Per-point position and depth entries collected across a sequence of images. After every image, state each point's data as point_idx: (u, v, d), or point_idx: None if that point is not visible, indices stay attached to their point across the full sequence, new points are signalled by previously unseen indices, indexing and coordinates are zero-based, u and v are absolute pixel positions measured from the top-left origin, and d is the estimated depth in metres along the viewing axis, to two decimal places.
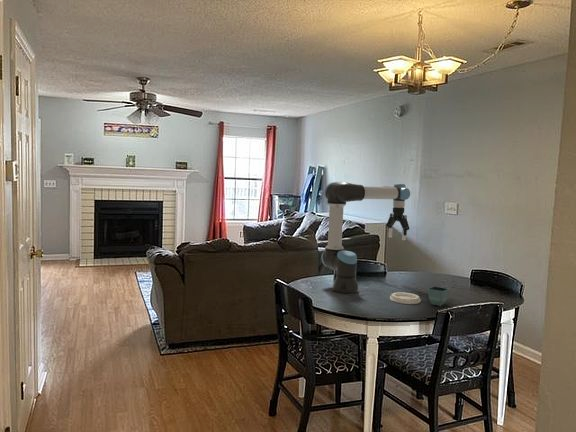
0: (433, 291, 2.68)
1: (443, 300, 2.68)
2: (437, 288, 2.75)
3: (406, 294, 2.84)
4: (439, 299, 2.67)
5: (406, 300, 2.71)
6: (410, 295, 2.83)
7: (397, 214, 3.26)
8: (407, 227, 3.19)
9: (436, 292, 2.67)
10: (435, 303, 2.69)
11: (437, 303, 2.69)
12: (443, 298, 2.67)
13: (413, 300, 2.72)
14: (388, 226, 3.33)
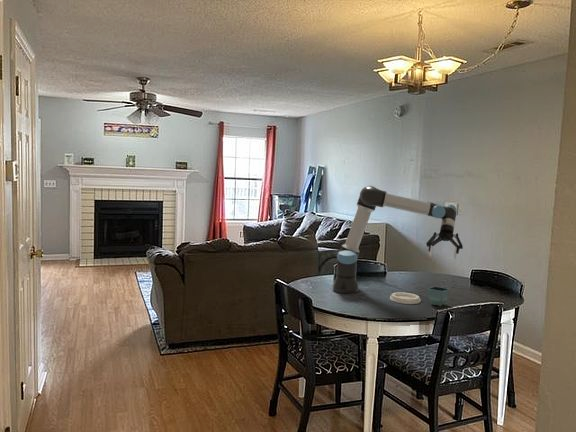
0: (433, 291, 2.68)
1: (443, 300, 2.68)
2: (437, 288, 2.75)
3: (406, 294, 2.84)
4: (439, 299, 2.67)
5: (406, 300, 2.71)
6: (410, 295, 2.83)
7: (446, 233, 2.89)
8: (462, 245, 2.81)
9: (436, 292, 2.67)
10: (435, 303, 2.69)
11: (437, 303, 2.69)
12: (443, 298, 2.67)
13: (413, 300, 2.72)
14: (430, 244, 2.87)
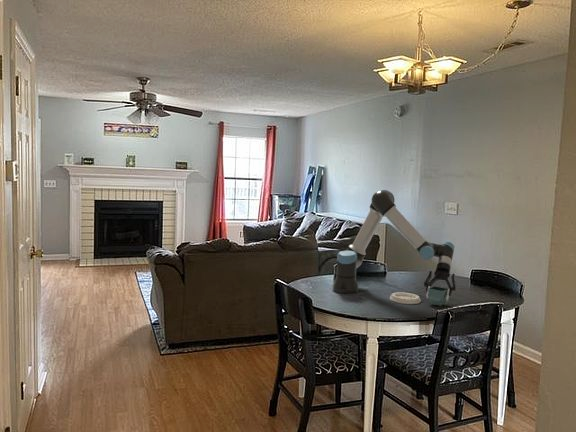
0: (433, 291, 2.68)
1: (443, 300, 2.68)
2: (437, 288, 2.75)
3: (406, 294, 2.84)
4: (439, 299, 2.67)
5: (406, 300, 2.71)
6: (410, 295, 2.83)
7: (443, 271, 2.78)
8: (455, 287, 2.70)
9: (436, 292, 2.67)
10: (435, 303, 2.69)
11: (437, 303, 2.69)
12: (443, 297, 2.67)
13: (413, 300, 2.72)
14: (427, 284, 2.75)
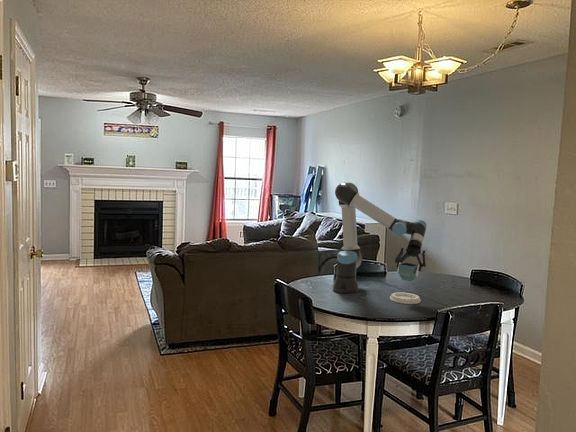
0: (403, 267, 2.74)
1: (413, 275, 2.74)
2: (408, 264, 2.81)
3: (406, 294, 2.84)
4: (409, 274, 2.72)
5: (406, 300, 2.71)
6: (410, 295, 2.83)
7: (414, 248, 2.83)
8: None
9: (406, 267, 2.73)
10: (405, 278, 2.75)
11: (407, 279, 2.74)
12: (413, 273, 2.73)
13: (413, 300, 2.72)
14: (399, 260, 2.80)
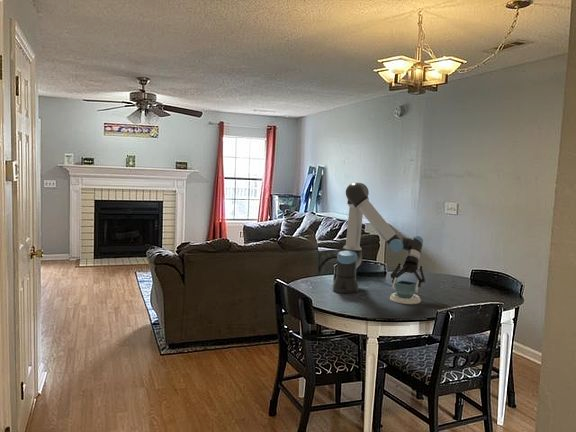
0: (400, 285, 2.75)
1: (410, 294, 2.75)
2: (405, 282, 2.83)
3: None
4: (406, 293, 2.74)
5: (406, 300, 2.71)
6: None
7: (411, 264, 2.84)
8: (424, 278, 2.77)
9: (403, 286, 2.74)
10: (402, 297, 2.76)
11: (404, 297, 2.76)
12: (410, 291, 2.74)
13: (413, 300, 2.72)
14: (394, 275, 2.82)
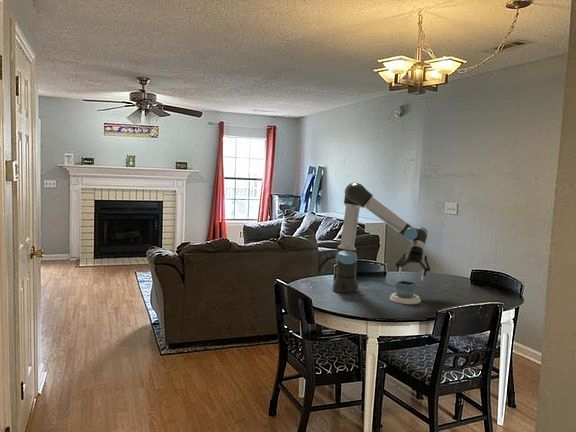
0: (400, 285, 2.75)
1: (410, 294, 2.75)
2: (405, 282, 2.83)
3: None
4: (406, 293, 2.74)
5: (406, 300, 2.71)
6: None
7: (416, 254, 2.95)
8: (429, 268, 2.87)
9: (403, 286, 2.74)
10: (402, 297, 2.76)
11: (404, 297, 2.76)
12: (410, 291, 2.74)
13: (413, 300, 2.72)
14: (399, 265, 2.93)
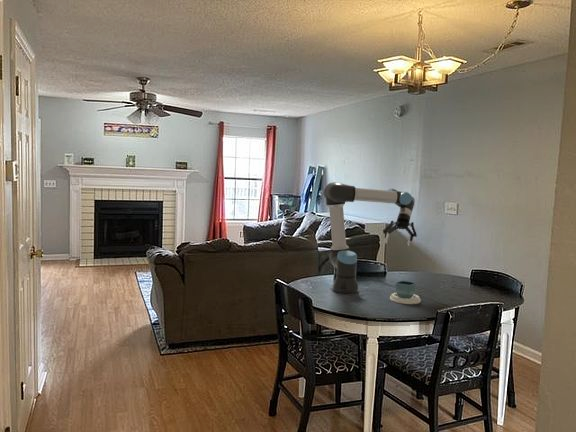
0: (400, 285, 2.75)
1: (410, 294, 2.75)
2: (405, 282, 2.83)
3: None
4: (406, 293, 2.74)
5: (406, 300, 2.71)
6: None
7: (403, 221, 3.02)
8: None
9: (403, 286, 2.74)
10: (402, 297, 2.76)
11: (404, 297, 2.76)
12: (410, 291, 2.74)
13: (413, 300, 2.72)
14: (386, 231, 3.00)
